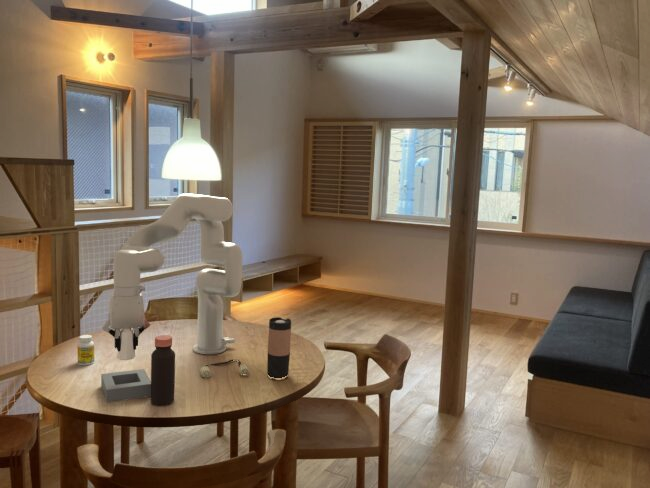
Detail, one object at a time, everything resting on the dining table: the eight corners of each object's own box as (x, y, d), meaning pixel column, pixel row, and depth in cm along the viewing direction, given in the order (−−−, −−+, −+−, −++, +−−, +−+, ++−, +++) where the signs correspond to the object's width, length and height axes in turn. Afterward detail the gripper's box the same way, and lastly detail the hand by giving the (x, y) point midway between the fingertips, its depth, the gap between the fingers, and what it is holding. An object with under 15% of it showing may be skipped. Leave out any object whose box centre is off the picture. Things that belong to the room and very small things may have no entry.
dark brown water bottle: (145, 403, 163) (146, 338, 161) (160, 395, 170) (161, 332, 167) (164, 408, 161) (165, 342, 158) (178, 399, 167) (180, 336, 165)
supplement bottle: (92, 359, 196) (92, 333, 194) (95, 364, 191) (95, 337, 190) (76, 361, 193) (76, 335, 191) (79, 366, 188) (78, 339, 187)
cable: (197, 364, 198) (197, 354, 198) (242, 361, 203) (242, 352, 203) (200, 380, 184) (201, 370, 183) (249, 377, 189) (249, 368, 188)
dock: (144, 380, 180) (144, 368, 179) (151, 396, 169) (152, 383, 168) (101, 386, 174) (101, 374, 173) (106, 402, 162) (106, 389, 162)
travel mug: (271, 381, 185) (274, 324, 182) (263, 373, 192) (265, 318, 189) (292, 379, 189) (295, 322, 186) (283, 371, 195) (286, 316, 192)
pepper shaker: (117, 361, 166) (117, 325, 164) (116, 355, 171) (116, 320, 169) (136, 359, 168) (136, 324, 167) (134, 353, 173) (135, 319, 172)
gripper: (152, 286, 174) (151, 342, 176) (95, 289, 166) (95, 348, 168) (157, 292, 167) (156, 350, 170) (98, 295, 159) (98, 356, 162)
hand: (126, 348), depth 169 cm, fingers closed on pepper shaker, 3 cm apart
